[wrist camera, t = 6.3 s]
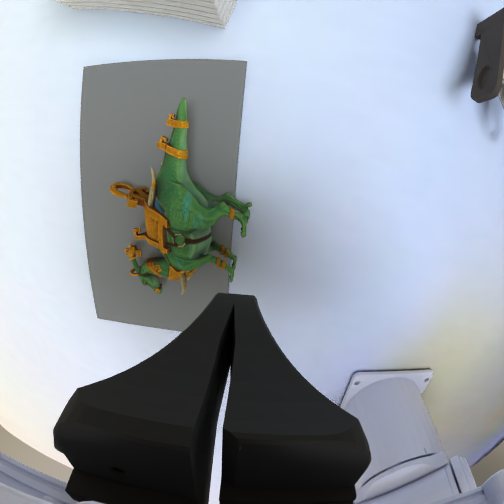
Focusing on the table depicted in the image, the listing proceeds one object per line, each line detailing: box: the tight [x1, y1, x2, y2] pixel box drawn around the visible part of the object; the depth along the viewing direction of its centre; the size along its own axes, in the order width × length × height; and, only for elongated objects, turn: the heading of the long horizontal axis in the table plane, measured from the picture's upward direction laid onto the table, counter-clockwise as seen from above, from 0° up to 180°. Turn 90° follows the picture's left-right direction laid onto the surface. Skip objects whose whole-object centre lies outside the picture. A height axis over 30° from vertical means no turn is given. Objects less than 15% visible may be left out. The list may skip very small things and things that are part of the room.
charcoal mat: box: [80, 59, 247, 331], centre depth 19 cm, size 18×10×1 cm, turn 175°
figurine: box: [109, 97, 252, 295], centre depth 17 cm, size 3×12×8 cm
